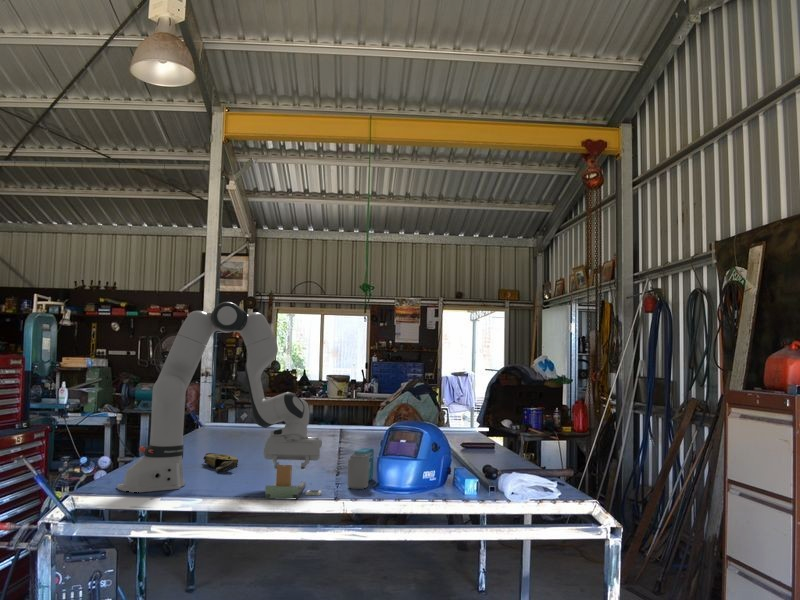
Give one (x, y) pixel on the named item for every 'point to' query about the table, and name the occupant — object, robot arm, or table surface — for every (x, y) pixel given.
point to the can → (358, 471)
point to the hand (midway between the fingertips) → (289, 468)
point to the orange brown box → (284, 475)
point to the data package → (370, 455)
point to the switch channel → (288, 491)
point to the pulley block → (220, 461)
